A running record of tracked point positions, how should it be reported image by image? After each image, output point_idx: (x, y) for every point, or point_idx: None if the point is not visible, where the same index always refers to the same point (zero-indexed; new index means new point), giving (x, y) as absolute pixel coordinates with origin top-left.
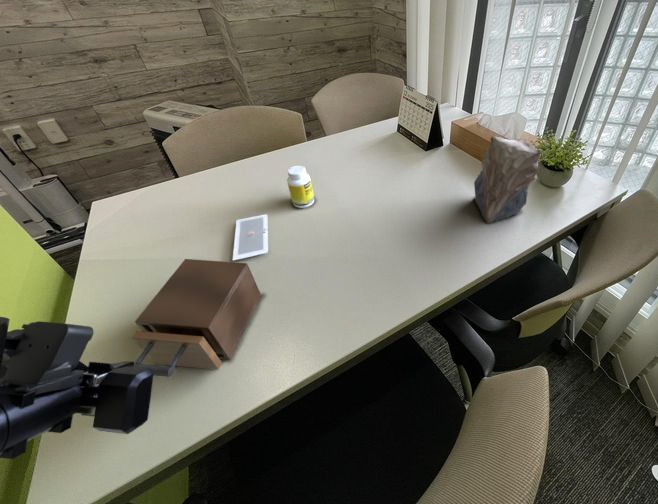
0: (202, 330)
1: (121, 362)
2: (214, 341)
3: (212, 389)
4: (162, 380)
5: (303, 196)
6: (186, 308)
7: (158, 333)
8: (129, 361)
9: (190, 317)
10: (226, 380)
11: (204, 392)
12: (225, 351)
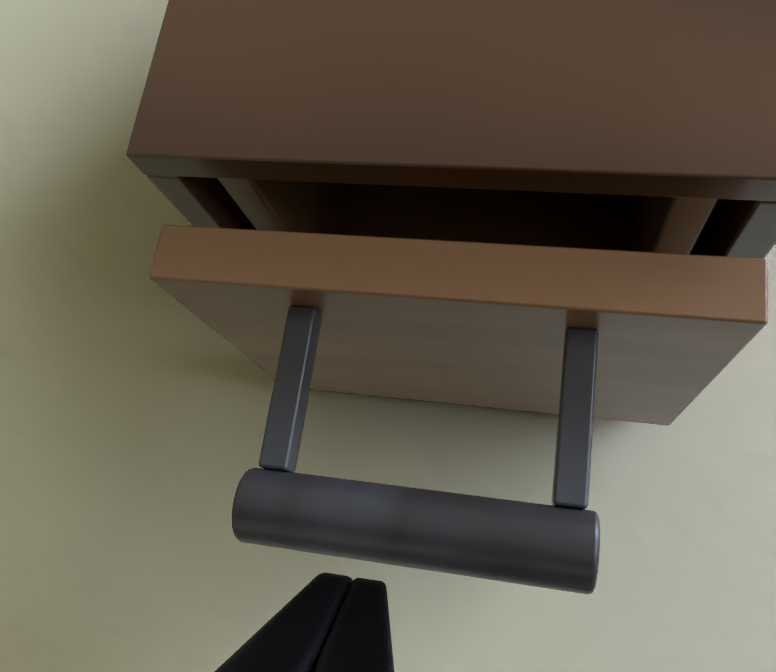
0: (690, 204)
1: (292, 637)
2: None
3: (662, 532)
4: (344, 469)
5: None
6: (494, 25)
7: (344, 240)
8: (343, 587)
9: (579, 96)
10: (725, 482)
11: (621, 547)
12: None
